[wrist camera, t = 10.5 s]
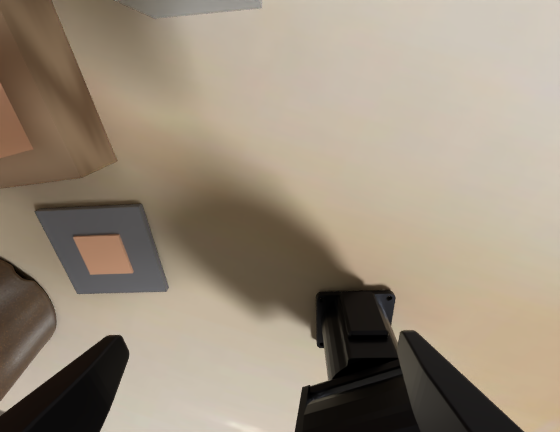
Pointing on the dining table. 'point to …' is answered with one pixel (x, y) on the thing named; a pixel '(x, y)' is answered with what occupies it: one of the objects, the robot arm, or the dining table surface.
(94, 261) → the card
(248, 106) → the dining table surface
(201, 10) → the slate grey cube
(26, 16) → the tan block
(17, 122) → the terracotta cube
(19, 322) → the plant pot
